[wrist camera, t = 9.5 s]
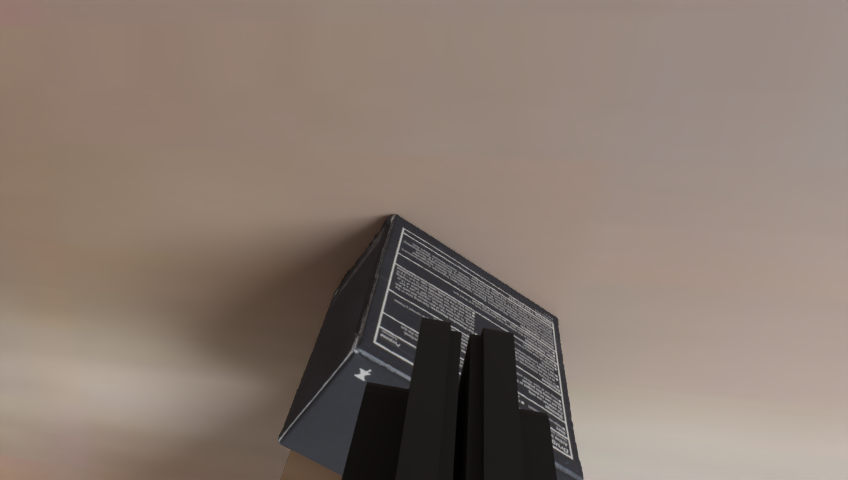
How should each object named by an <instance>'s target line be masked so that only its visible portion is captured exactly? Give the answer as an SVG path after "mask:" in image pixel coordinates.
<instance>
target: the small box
mask: <svg viewBox="0 0 848 480" xmlns="http://www.w3.org/2000/svg"><path fill="white" fill-rule="evenodd" d="M422 317H424V318H430V319H436V320H442V321H447V322H451V330H452V331H458V332H461V350H460V367H459V380H460V376H461V371H462V367H463V362H464V358H465V353H466V349H467V344H468V340H469V336H470V334H476V335H481V332H482V329H483V328H488V329H494V330H499V331H505V332H511V333H513V334H514V344H515V358H516V373H517V387H518V401H519V408H520V409H525V410H531V411H537V412H543V413H546V414H547V415H548V417H549V422H550V429H551V436H552V444H553V452H554V460H555V468H556V475H557V480H583V472H582V467H581V463H580V461H579V457H578V451H577V445H576V442H575V436H574V430H573V423H572V420H571V411H570V402H569V397H568V390H567V383H566V378H565V370H564V364H563V355H562V350H561V343H560V333H559V328H558V325H559V324H558V318H557V317H555V316H553V315H552V314H550V313H549V312H547V311H546V310H544V309H543V308H541V307H540V306H538V305H537V304H535V303H534V302H532V301H530V300H529V299H528V298H526V297H524V296H523V295H521V294H520V293H518V292H517V291H515V290H514V289H512V288H510V287H509V286H508V285H506V284H504V283H502V282H501V281H500V280H498V279H497V278H495V277H493V276H492V275H490V274H489V273H487V272H486V271H484V270H482V269H481V268H479V267H478V266H476V265H475V264H473V263H472V262H470V261H469V260H467V259H465V258H464V257H462V256H461V255H459V254H458V253H456V252H455V251H453V250H452V249H450V248H449V247H447V246H445V245H444V244H442V243H441V242H439V241H438V240H436V239H435V238H433V237H431V236H430V235H428V234H427V233H425V232H424V231H422V230H420V229H419V228H417V227H415V226H414V225H413V224H411V223H409V222H408V221H406V220H404V219H403V218H401V217H400V216H399V215H397V214H396V215H392V216H390V217H388V218H387V220H386V221H385V222H384V224H383V226H382V228H381V231H380V232H379V233H378V234H377V235H375V238H374V240H373V241H372V242H371V243H370V244H369V247H368V248H367V249H366V250H365V252H364V253H363V254H362V256H361V257H360V258H359V259H358V260H357V262H356V264H355V265H354V266H353V268H352V269H351V270H349V271H348V272H347V274H346V275H345V276H344V278H343V280H342V281H341V283H340V285H339V287H338V289H337V290H336V291H335V293H334V295H333V299H332V302H331V304H330V307H329V309H328V312H327V314H326V317H325V320H324V323H323V326H322V328H321V330H320V333H319V335H318V338H317V341H316V343H315V346H314V349H313V351H312V354H311V356H310V359H309V362H308V365H307V367H306V370H305V372H304V375H303V377H302V379H301V383H300V385H299V388H298V390H297V392H296V395H295V398H294V400H293V403H292V406H291V408H290V411H289V414H288V417H287V419H286V422H285V424H284V427H283V429H282V431H281V433H280V435H279V438H278V442H279V443H280V444H281V445H283V446H285V447H287V448H289V449H291V450H293V451H295V452H297V453H299V454H301V455H302V456H304V457H306V458H308V459H310V460H312V461H314V462H316V463H318V464H320V465H322V466H324V467H326V468H328V469H330V470H332V471H333V472H335V473H337V474H339V475H341V476H343V472H344V468H345V464H346V460H347V456H348V452H349V449H350V445H351V441H352V437H353V433H354V429H355V425H356V421H357V418H358V414H359V410H360V406H361V402H362V398H363V394H364V391H365V387H366V384H367V382H371V383H376V384H382V385H388V386H394V387H399V388H405V389H409V387H410V381H411V375H412V369H413V364H414V358H415V352H416V347H417V341H418V335H419V330H420V324H421V318H422ZM458 385H459V384H458Z"/></svg>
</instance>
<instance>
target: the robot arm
mask: <svg viewBox="0 0 848 480" xmlns="http://www.w3.org/2000/svg"><path fill="white" fill-rule="evenodd" d="M460 350H461V332H458V331H452V330H451V322H447V321H442V320H436V319H430V318H424V317H422V318H421V324H420V330H419V335H418V341H417V347H416V352H415V358H414V364H413V369H412V375H411V381H410V387H409V389H405V388H399V387H394V386H388V385H382V384H376V383H371V382H367V384H366V387H365V391H364V394H363V398H362V402H361V406H360V410H359V414H358V418H357V421H356V425H355V429H354V433H353V437H352V441H351V445H350V449H349V452H348V456H347V460H346V464H345V468H344V472H343V476H342V479H341V480H557V475H556V468H555V460H554V452H553V444H552V436H551V429H550V422H549V417H548V415H547V414H546V413H543V412H537V411H531V410H525V409H520V408H519V401H518V387H517V373H516V358H515V344H514V334H513V333H511V332H505V331H499V330H494V329H488V328H483V329H482V332H481V335H476V334H470V336H469V340H468V344H467V349H466V353H465V358H464V362H463V367H462V371H461V376H460V380H459V367H460ZM458 384H459V385H458Z"/></svg>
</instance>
